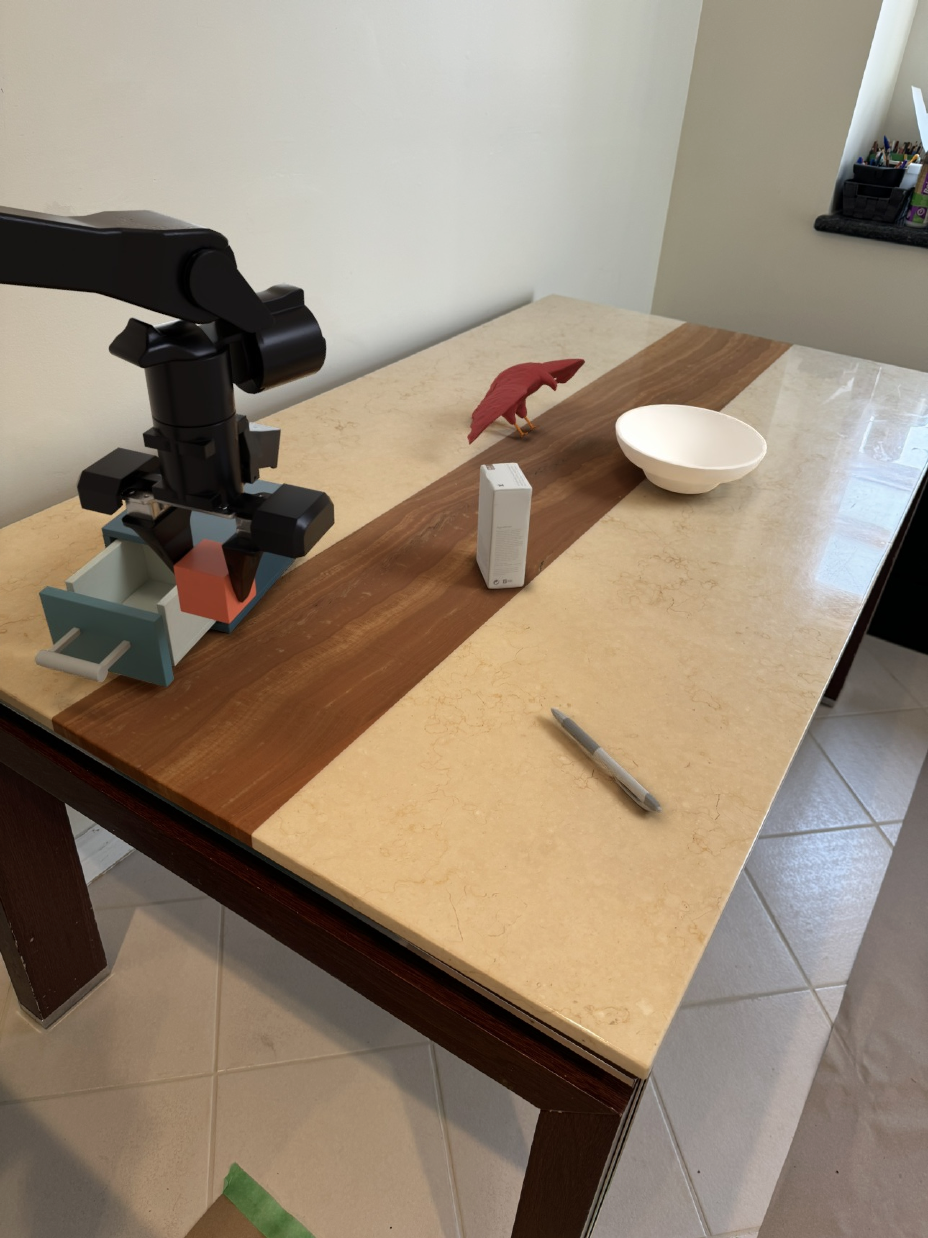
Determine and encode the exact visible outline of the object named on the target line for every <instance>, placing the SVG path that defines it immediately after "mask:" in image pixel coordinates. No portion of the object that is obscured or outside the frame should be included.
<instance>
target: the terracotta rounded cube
mask: <svg viewBox="0 0 928 1238" xmlns="http://www.w3.org/2000/svg"><path fill="white" fill-rule="evenodd" d="M222 544H223V543H219V542H215V541H211V540H207V539H203V540H202V541H201V542H200V543H198V544H197V545H196V546H195V547H194V548H193V549H192V550H191V551H189V552H188V553H187V554H186V555H185V556H184V557H183V558H182V559H181V560H179V561H178V562H177V563H176V564H175V565H174V573H175V579H176V585H177V591H178V597H179V603H180V609H181V612H185V613H189V614H193V615H197V616H201V617H205V618H209V619H212V620H216V621H220V622H224V623H228V624H230V623H231V622H232V620H233V619H234V618H235V617H236V616H237V615H238V614H239V613H240V612H241V611H242V610H243V609H244V607H245V606H246V605H247V604H248V603H249V602H250V601H251V600H252V599H253V598H254V597H255V596H256V587H255V578H254V581H253V585H252V588H251V591H250V594H249V596H248V598H247V599H246V600H245V601H244V602H243V603H242V602H238V600H237V597H236V595H235V593H234V591H233V588H232V584H231V580H230V576H229V573H228V569H227V565H226V562H225V558H224V554H223V550H222Z"/></svg>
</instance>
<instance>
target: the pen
mask: <svg viewBox="0 0 928 1238" xmlns="http://www.w3.org/2000/svg"><path fill="white" fill-rule="evenodd" d="M550 713H551V714H552V716H553V718H554V719H555V720H556V721H557V723H558V724H559V725H560V726H561V727H562V729H564V730H565V731H566V732H567V733H568V734H569V735H570V736H571V737H572V738H573V739H575V741H577V743H578V744H580V745H581V746H582V747H583V748H584V749H585V750H586V751H587V752H588V753H589V754H590V755H591V756H593V758H595V759H596V760H597V761H598V762H599V763H600V764H602V765H603V767H604V768H606V769H607V770H608V772H610V773H611V774H612V777H613V778H614V780H615V782H616V783H617V784H618V785H619V787H620V788H621V789H622V790H623V791H624V792H625V793H626V795H628V796H629V798H630V799H632V800H633V801H634V802H635V803H636V804H637V805H638V806H639V807H641V808H642V809H644V810H646V811H648V812H657V813H658V814H661V813H662V812H663V808H662V807H661V804H660V803H659V801H658V800H657V799H656V797H655V796H653V794H652V793H650V792H649V791H648V790H647V789H646V788H645V787H644V786H642V784H640V783H639V782H638V781H637V780H636V779H635V778H634V777H633V776H632V775H631V774H630V773H629V772H628V771H627V770H626V769H625V768H623V766H621V765H620V764H619V763H618V762H617V761H616V760H615V759H614V758H613V757H611V756H610V755H609V753H607V752H606V750H605V749H604V748H603V747H602V746H601V745H599V744H598V743H597V742H596V741H595V740H594V739H593V738H592V737H591V736H590V735H589V734H587V732H585V731H584V730H583V729H582V728H581V727H580V726H579V725H578V724H577V723H576V722H575V721H574V720H572V718H571V717H568V716H567V715H566V714H564V713H563V712H562V711H561V710H559V709H557V708H554V707H550ZM628 790H629V791H630V792H629V791H628Z"/></svg>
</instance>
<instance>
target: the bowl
mask: <svg viewBox="0 0 928 1238" xmlns="http://www.w3.org/2000/svg"><path fill="white" fill-rule="evenodd" d="M615 436H616V441H617V443H618V445H619V447H620V449H621V451H622V452H623V454H624V456H625V458H627V459H628V460H629V461H630V462H631V463H633V464H634V465H635V466H637V467H638V468H640V469H641V470H642V471H643V473H644V475H645V477H646V478H647V480H648V481H649V482H651V483H652V484H654V485H655V486H656V487H659V488H661V489H664V490H667V491H670V492H674V493H679V494H686V495H695V494H696V495H698V494H705V493H708V492H710V491H712V490H714V489H715V488H717V486H719V485H720V484H727V483H730V482H734V481H738V480H740V479H742V478H743V477H745V476H746V475H748V474H749V473H750V472H752V471H754V470H755V469H756V468H757V467H758V466H759V464H760V463H761V462H762V460H763V459H764V457H765V455H766V454H767V451H768V445H767V442H766V440H765V438H764V437H763V436H762V434H761V433H760V432H759V431H757V430H756V429H755V428H754V427H753V426H751V425H749V424H748V423H746V422H744V421H742V420H741V419H739V418H736V417H734V416H732V415H728V414H725V413H723V412H721V411H716V410H712V409H708V408H704V407H700V406H699V407H698V406H692V405H685V404H684V405H683V404H665V403H664V404H650V405H644V406H638V407H636V408H632V409H629V410H627V411H625V412H624V413H622V414H621V415H620V416H619V417H618V418H617V420H616V422H615Z"/></svg>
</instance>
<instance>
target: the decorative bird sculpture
mask: <svg viewBox="0 0 928 1238" xmlns="http://www.w3.org/2000/svg"><path fill="white" fill-rule="evenodd" d="M585 363H586V360H585V359H584V358H564V359H558V360H557V359H556V360H551V361H550V360H549V361H544V362H534V361H533V362H531V361H530V362H523V363H518V364H515V365H512V366H510V367H507V368H506V369H504V370H503V371H500V372H499V373H498V374H497V376H496V377H495V378H494V379H493V381H492V383H491V384H490V385H489V389H488V390H487V392H486V393H485V395H484V398H483V399H482V400H481V401H480V402H479V404H478V405H477V407H476V408H475V409H474V411H473V412H472V414H471V417H470V418H471V419H472V421H471V422H470V425H469V428H470V431H469V433H468V434H467V437H466V438H467V440H468V445H469V446H471V445H472V444H473V443H474V442H475V441H476V440H477V439H478V438H479V437H480V435H481V434H483V432H484V431H485V430H486V429H487V428H488V427H490V426H491V425H492V424H493V423H494V422H495V421H496V420H498V419H499V418H500V417H502V418H504V419H505V420H506V422H508V423H509V424H510V425H512V426H514V427H515V428H516V430H517V431H518V433H520V436H519V438H520V439H522V437H524V436H526V435H528V434H529V432H525V433H524V432H522V430H521V428H520V427H519V426H518V424H517V417H518V418H520V419H524V420H525V422H526V423H527V424H528V425H529V426H530V429H529V431H530V432H532V430H534V429H536V428H538V427H540V425H535V426H534V425H533V424H532V423H531V421H530V420H529V418H528V417H527V416H528V409H527V398H528V397H530V396H532V395H533V394H535V393H537V391H539V390H540V389H541V388H542V386H548V387H549V388H550V389H551V390H552V391H554V392H556V391H557V388H558V385H559V384H566V383H568V381H570V380H572V378H573V377H574V376H575V375H576V374H577V373H578V372H579V370H580V369H581V368H582V367H583V366H584V365H585ZM516 416H517V417H516Z"/></svg>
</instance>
